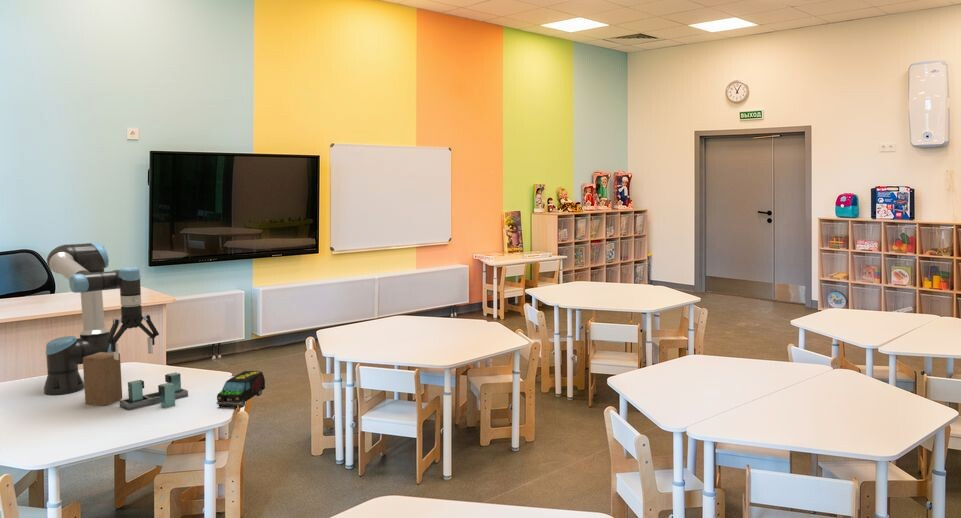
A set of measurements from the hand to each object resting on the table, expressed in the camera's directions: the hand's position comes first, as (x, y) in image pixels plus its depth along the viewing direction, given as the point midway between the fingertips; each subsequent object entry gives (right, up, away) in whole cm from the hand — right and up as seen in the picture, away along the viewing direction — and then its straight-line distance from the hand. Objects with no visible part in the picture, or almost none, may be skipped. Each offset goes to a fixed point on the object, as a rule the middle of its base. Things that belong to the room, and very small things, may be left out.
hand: (133, 356), depth 282 cm
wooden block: (-16, -20, +7) cm, 27 cm away
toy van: (+41, -20, +10) cm, 47 cm away
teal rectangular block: (0, -20, +2) cm, 20 cm away
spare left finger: (+13, -21, +2) cm, 25 cm away
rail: (+5, -20, +8) cm, 22 cm away
